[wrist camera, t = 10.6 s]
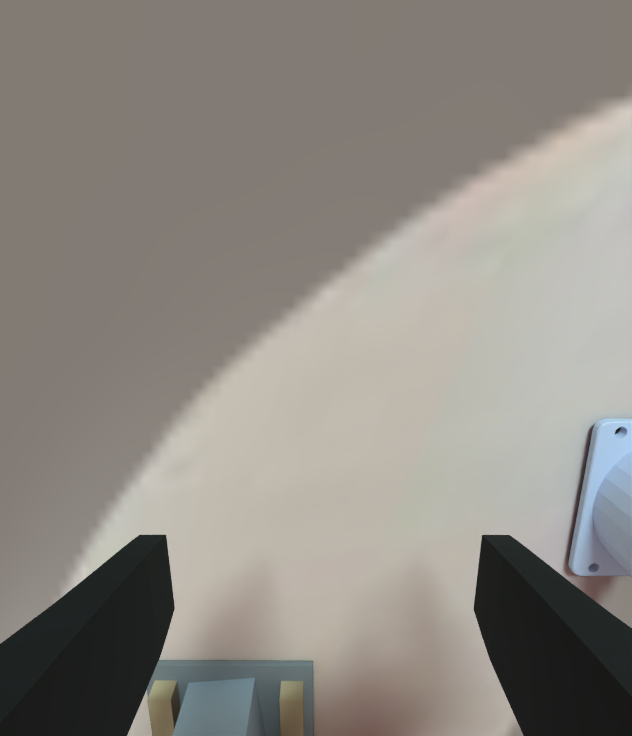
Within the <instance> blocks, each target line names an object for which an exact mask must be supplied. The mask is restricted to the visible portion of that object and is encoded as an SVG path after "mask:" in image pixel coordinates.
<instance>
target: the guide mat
mask: <svg viewBox="0 0 632 736" xmlns="http://www.w3.org/2000/svg"><path fill="white" fill-rule="evenodd" d="M245 678H255V681H256V687H257V692H258V697H259V702H260V708H261V713H262V718H263V723H264V729H265V734H266V736H281V729H280V702H279V699H280V688H281V681H304V736H314V731H313V661H158V663H157V665H156V668H155V670H154V673H153V675H152V677H151V680H150V682H149V685H148V687H147V694H148V697H149V694H150V691H151V689H152V686H153V684H154V681H155V680H177V684H178V692H179V701H180V709H181V706H182V703H183V700H184V696H185V693H186V690H187V687H188V683H193V682H206V681H219V680H232V679H245Z"/></svg>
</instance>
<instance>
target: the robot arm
mask: <svg viewBox="0 0 632 736" xmlns="http://www.w3.org/2000/svg"><path fill="white" fill-rule="evenodd" d="M619 427H621V430H620V432H618V433H617V434H615V431H616V430H617V429H618V428H619ZM591 564H593V565H591ZM589 565H591V566H589ZM569 567H570V569H571V570H572V571H573V573H574V574H576V575H579V576H632V419H602V420H600V421H598V422H597V423H596V424H595V425H594V428H593V431H592V436H591V442H590V447H589V453H588V458H587V464H586V469H585V475H584V480H583V486H582V491H581V497H580V502H579V508H578V513H577V519H576V524H575V530H574V535H573V541H572V546H571V552H570V557H569ZM474 611H475V615H476V618H477V621H478V624H479V628H480V631H481V634H482V637H483V640H484V643H485V646H486V649H487V652H488V655H489V658H490V660H491V663H492V665H493V667H494V670H495V672H496V674H497V677H498V679H499V681H500V683H501V686H502V688H503V690H504V692H505V695H506V697H507V699H508V702H509V704H510V706H511V708H512V710H513V713H514V715H515V717H516V719H517V722H518V724H519V726H520V728H521V730H522V733H523V735H524V736H632V628H630V627H629V626H627V625H626V624H625V623H623V622H622V621H621V620H619V619H618V618H616V617H615V616H613V615H612V614H611V613H610V612H608V611H607V610H606V609H604V608H603V607H602V606H600V605H599V604H598V603H596V602H595V601H594V600H592V599H591V598H590V597H589V596H587V595H586V594H585V593H583V592H582V591H581V590H579V589H578V588H577V587H576V586H574V585H573V584H572V583H570V582H569V581H568V580H567V579H565V578H564V577H563V576H562V575H560V574H559V573H558V572H556V571H555V570H554V569H553V568H551V567H550V566H549V565H548V564H546V563H545V562H544V561H543V560H541V559H540V558H539V557H537V556H536V555H535V554H534V553H532V552H531V551H530V550H529V549H527V548H526V547H525V546H523V545H522V544H521V543H519V542H518V541H517V540H515V539H514V538H513V537H511V536H510V535H482V542H481V550H480V559H479V568H478V576H477V585H476V594H475V602H474ZM173 612H174V599H173V591H172V582H171V573H170V565H169V556H168V548H167V539H166V535H139V536H138V537H136V538H135V539H134V540H132V541H131V542H130V543H128V544H127V545H126V546H125V547H123V548H122V549H121V550H120V551H119V552H117V553H116V554H115V555H114V556H112V557H111V558H110V559H109V560H108V561H106V562H105V563H104V564H103V565H101V566H100V567H99V568H98V569H97V570H95V571H94V572H93V573H92V574H90V575H89V576H88V577H87V578H86V579H84V580H83V581H82V582H81V583H79V584H78V585H77V586H76V587H74V588H73V589H72V590H71V591H69V592H68V593H67V594H66V595H64V596H63V597H62V598H61V599H59V600H58V601H57V602H56V603H54V604H53V605H52V606H50V607H49V608H48V609H46V610H45V611H44V612H42V613H41V614H40V615H38V616H37V617H36V618H34V619H33V620H32V621H30V622H29V623H28V624H26V625H25V626H24V627H23V628H21V629H20V630H18V631H17V632H16V633H14V634H13V635H12V636H11V637H9V638H8V639H6V640H5V641H4V642H2V643H1V644H0V736H127V734H128V732H129V729H130V727H131V725H132V722H133V720H134V718H135V715H136V713H137V711H138V708H139V706H140V704H141V701H142V699H143V697H144V694H145V692H146V689H147V687H148V685H149V682H150V680H151V677H152V675H153V673H154V670H155V668H156V665H157V663H158V660H159V658H160V655H161V652H162V649H163V646H164V642H165V639H166V636H167V633H168V629H169V626H170V622H171V619H172V615H173Z"/></svg>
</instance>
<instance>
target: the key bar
mask: <svg viewBox="0 0 632 736" xmlns="http://www.w3.org/2000/svg"><path fill="white" fill-rule="evenodd" d="M172 736H266V734H265V729H264V723H263V718H262V713H261V708H260V702H259V697H258V692H257V687H256V681H255V678H245V679H232V680H219V681H206V682H193V683H188V687H187V690H186V693H185V696H184V700H183V703H182V706H181V709H180V713H179V716H178V719H177V722H176V726H175V729H174V732H173V735H172Z"/></svg>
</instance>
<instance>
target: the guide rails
mask: <svg viewBox="0 0 632 736" xmlns="http://www.w3.org/2000/svg"><path fill="white" fill-rule="evenodd" d="M147 701H148V708H149V714H150V721H151V728H152V735H153V736H172V735H173V732H174V729H175V726H176V722H177V719H178V716H179V713H180V701H179V692H178V684H177V680H155V681H154V684H153V686H152V689H151V691H150V694H149V697H148V699H147ZM279 702H280V729H281V736H304V681H281V688H280V699H279Z"/></svg>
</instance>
